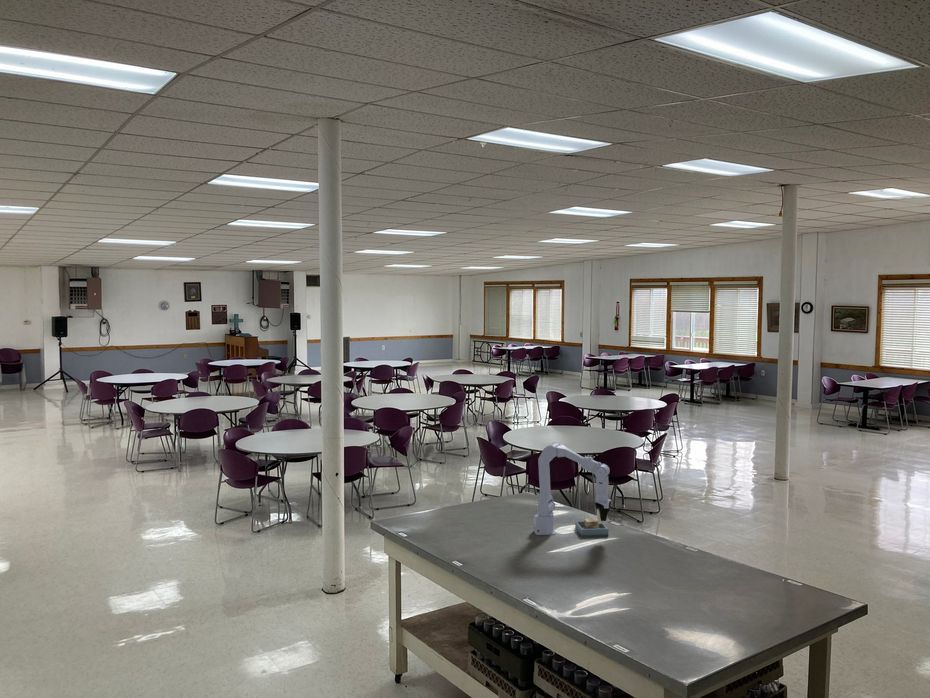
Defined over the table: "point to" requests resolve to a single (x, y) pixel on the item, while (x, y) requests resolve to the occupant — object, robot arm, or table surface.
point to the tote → (590, 530)
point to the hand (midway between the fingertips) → (602, 519)
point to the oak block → (591, 523)
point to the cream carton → (600, 518)
